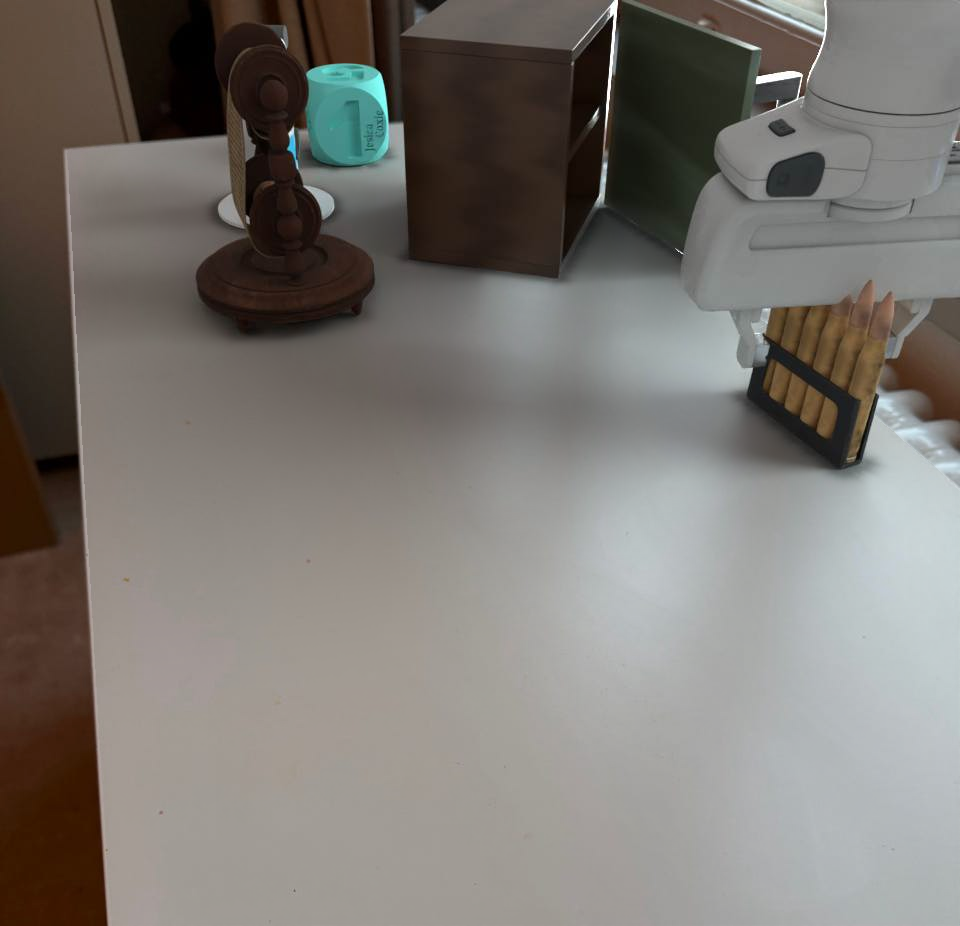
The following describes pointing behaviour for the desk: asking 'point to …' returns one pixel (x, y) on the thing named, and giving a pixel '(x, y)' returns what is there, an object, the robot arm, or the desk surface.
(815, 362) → the ammunition clip
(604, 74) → the cupboard
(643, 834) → the desk surface
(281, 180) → the dark brown piece
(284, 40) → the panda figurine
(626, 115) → the cupboard door
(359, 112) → the decorative dice
